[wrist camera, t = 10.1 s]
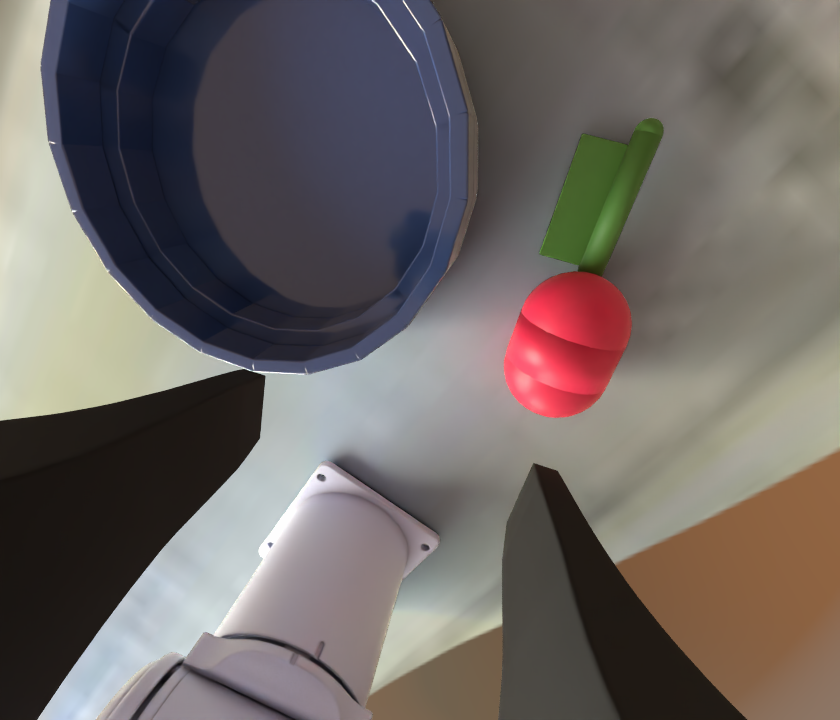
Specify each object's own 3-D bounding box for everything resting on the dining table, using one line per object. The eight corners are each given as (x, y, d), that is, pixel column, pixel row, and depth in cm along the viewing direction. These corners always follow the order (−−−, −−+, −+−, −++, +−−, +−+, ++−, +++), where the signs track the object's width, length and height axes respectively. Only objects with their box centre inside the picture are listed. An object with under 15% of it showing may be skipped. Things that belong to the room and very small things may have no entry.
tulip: (579, 400, 20) (592, 451, 16) (493, 373, 20) (488, 418, 16) (702, 136, 15) (761, 125, 11) (588, 107, 15) (609, 88, 12)
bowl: (359, 396, 22) (327, 440, 18) (100, 217, 21) (14, 226, 17) (565, 104, 15) (580, 82, 12) (202, -179, 14) (96, -296, 11)
